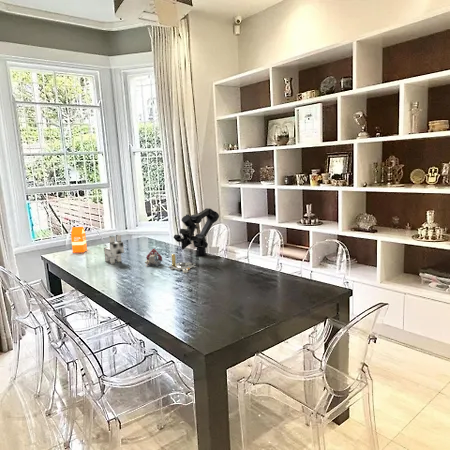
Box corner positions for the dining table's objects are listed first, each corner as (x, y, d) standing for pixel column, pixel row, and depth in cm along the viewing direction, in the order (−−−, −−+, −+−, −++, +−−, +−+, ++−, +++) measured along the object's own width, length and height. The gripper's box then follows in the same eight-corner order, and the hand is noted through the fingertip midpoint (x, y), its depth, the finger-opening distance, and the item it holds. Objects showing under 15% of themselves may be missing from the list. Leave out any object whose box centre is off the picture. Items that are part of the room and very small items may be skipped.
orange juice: (83, 252, 310) (81, 227, 307) (72, 252, 311) (70, 227, 307) (87, 249, 318) (84, 225, 315) (76, 250, 318) (73, 226, 315)
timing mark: (182, 271, 247) (182, 268, 247) (187, 271, 248) (187, 268, 248) (183, 272, 244) (183, 269, 244) (188, 272, 245) (188, 269, 245)
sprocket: (166, 265, 262) (165, 252, 261) (191, 261, 269) (190, 249, 268) (173, 271, 246) (172, 258, 245) (199, 268, 253) (199, 255, 251)
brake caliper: (165, 258, 271) (161, 247, 263) (161, 271, 264) (156, 260, 255) (150, 258, 274) (145, 247, 265) (146, 271, 266) (140, 260, 258)
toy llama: (113, 258, 286) (111, 232, 282) (124, 263, 273) (122, 235, 269) (103, 261, 281) (101, 233, 277) (114, 265, 268) (112, 236, 264)
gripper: (174, 223, 271) (165, 242, 264) (196, 224, 262) (188, 244, 255) (181, 232, 279) (173, 250, 272) (203, 233, 270) (195, 252, 263)
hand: (182, 249), depth 265 cm, fingers closed
